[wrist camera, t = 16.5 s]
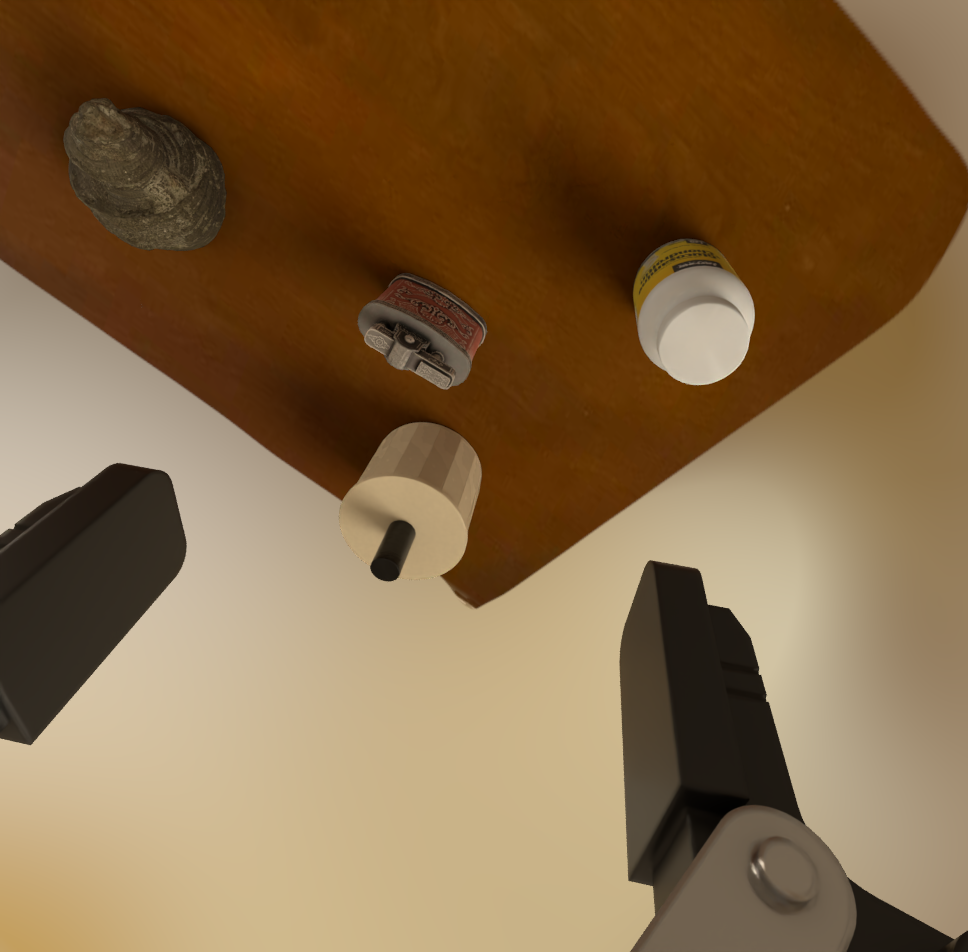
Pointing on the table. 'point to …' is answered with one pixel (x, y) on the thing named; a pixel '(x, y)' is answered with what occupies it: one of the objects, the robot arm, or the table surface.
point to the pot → (432, 461)
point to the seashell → (145, 176)
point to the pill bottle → (692, 312)
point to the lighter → (423, 330)
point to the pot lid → (403, 526)
